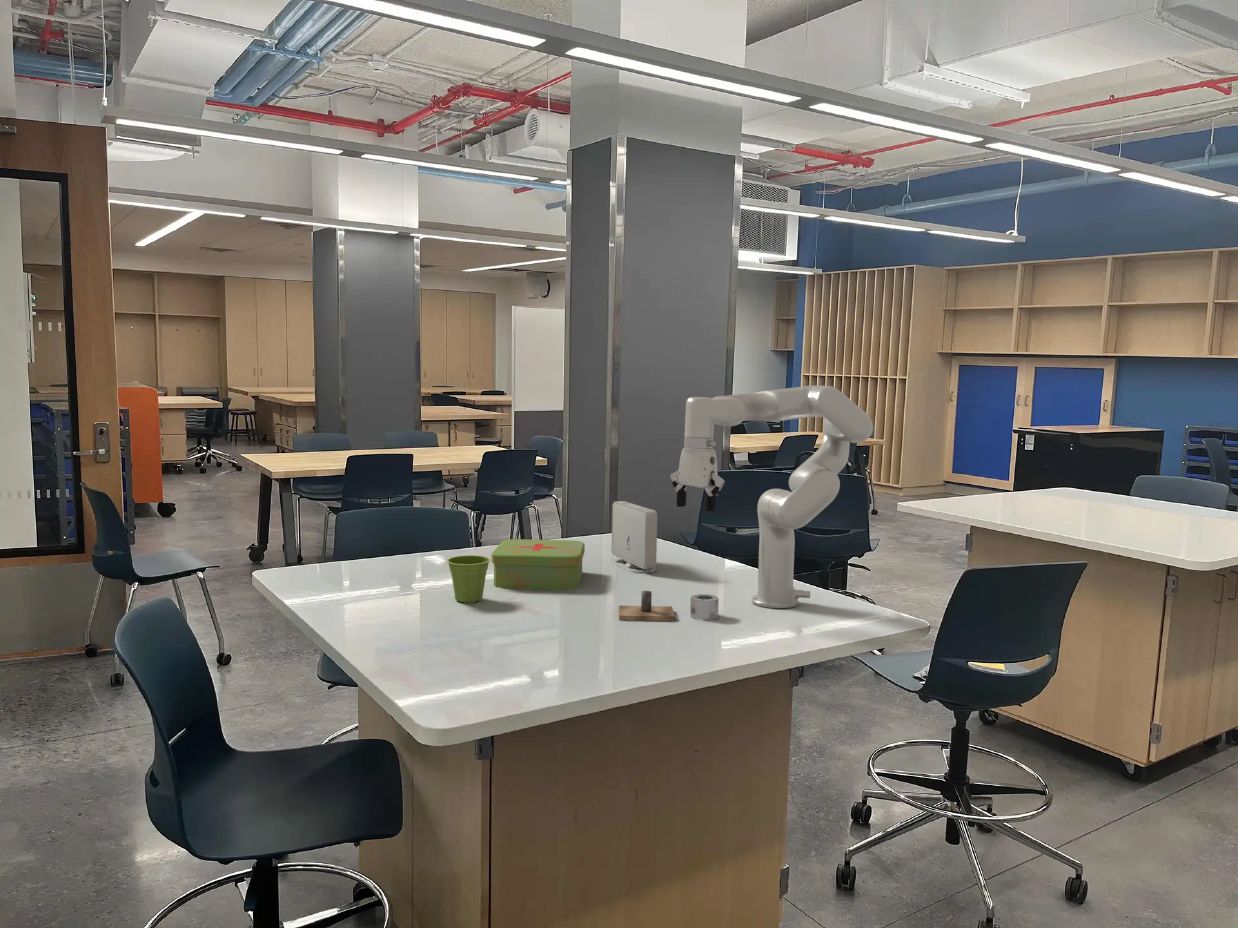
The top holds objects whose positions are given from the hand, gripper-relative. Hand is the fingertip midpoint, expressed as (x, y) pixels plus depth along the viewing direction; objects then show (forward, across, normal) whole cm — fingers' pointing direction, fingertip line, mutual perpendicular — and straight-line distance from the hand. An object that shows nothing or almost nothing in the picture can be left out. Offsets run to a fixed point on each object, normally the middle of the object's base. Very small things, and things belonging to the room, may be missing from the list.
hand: (695, 508), depth 237 cm
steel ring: (+27, -7, +4) cm, 28 cm away
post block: (+27, +4, +14) cm, 31 cm away
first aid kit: (+28, +54, +6) cm, 61 cm away
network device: (+27, +46, -29) cm, 61 cm away
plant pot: (+28, +48, +37) cm, 67 cm away
